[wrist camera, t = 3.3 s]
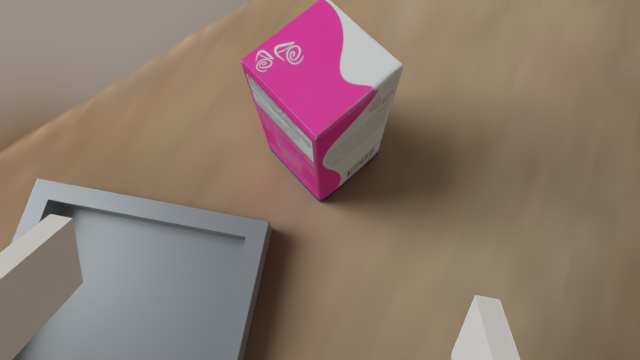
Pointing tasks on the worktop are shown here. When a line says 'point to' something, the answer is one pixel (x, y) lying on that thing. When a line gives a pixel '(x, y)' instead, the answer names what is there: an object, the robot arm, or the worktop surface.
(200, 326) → the tray
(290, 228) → the worktop surface
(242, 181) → the worktop surface
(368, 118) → the supplement box
